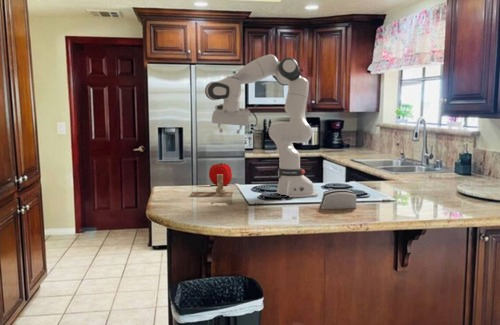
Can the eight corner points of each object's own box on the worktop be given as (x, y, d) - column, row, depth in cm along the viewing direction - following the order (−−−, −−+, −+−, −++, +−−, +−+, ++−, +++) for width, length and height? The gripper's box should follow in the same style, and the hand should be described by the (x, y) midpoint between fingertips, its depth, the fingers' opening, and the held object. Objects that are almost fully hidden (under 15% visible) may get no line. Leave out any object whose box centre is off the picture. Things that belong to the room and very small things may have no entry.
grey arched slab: (352, 205, 204) (356, 187, 199) (356, 210, 200) (359, 192, 195) (318, 206, 202) (321, 188, 197) (321, 212, 198) (323, 193, 193)
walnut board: (233, 194, 230) (233, 191, 230) (231, 199, 217) (231, 196, 217) (192, 194, 231) (192, 191, 230) (188, 199, 218) (188, 196, 217)
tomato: (231, 187, 249) (231, 164, 247) (207, 187, 249) (207, 164, 247) (232, 182, 264) (232, 160, 263) (210, 182, 265) (210, 161, 263)
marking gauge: (224, 192, 229) (224, 173, 228) (224, 194, 223) (224, 175, 222) (216, 192, 229) (215, 173, 227) (216, 194, 223) (215, 175, 221)
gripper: (250, 108, 233) (248, 133, 235) (213, 105, 233) (211, 130, 235) (250, 109, 227) (248, 135, 229) (212, 105, 226) (210, 131, 229)
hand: (229, 132), depth 232 cm, fingers open, 8 cm apart
